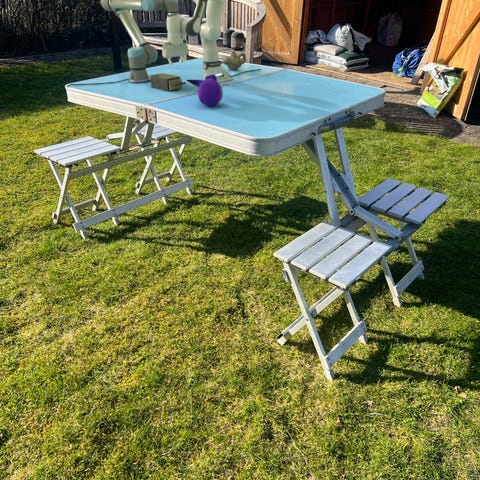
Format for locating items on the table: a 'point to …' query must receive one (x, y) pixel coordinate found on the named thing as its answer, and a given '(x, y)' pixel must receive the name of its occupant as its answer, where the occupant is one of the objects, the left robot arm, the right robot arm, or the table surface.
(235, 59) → the teapot
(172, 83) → the drawer
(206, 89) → the toy
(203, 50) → the right robot arm
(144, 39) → the left robot arm
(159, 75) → the brown wooden slab
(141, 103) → the table surface
